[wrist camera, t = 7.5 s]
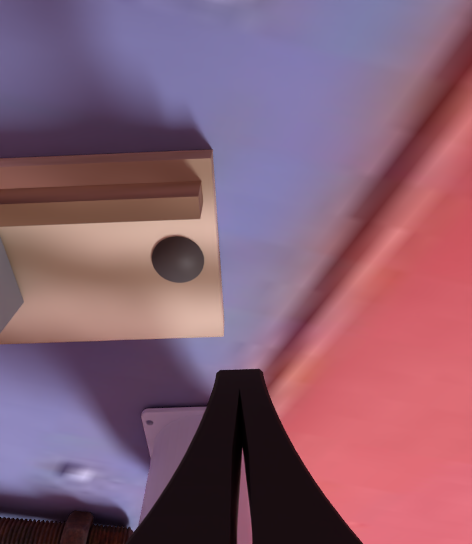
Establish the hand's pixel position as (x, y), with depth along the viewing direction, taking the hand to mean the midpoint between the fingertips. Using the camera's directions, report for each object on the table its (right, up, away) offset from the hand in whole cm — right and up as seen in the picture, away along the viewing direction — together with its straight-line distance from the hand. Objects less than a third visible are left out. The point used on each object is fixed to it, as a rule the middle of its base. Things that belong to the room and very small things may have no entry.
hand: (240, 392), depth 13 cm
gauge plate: (-13, +5, +9) cm, 17 cm away
